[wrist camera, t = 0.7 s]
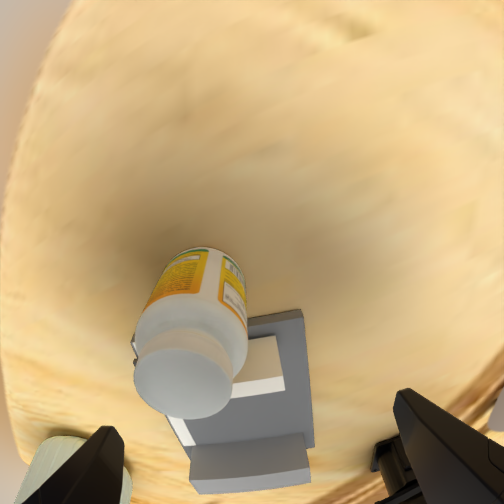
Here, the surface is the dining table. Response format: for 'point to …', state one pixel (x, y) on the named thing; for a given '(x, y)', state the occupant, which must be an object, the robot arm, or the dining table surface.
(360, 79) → the dining table surface
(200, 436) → the gauge base
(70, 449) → the vase
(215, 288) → the supplement bottle
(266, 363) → the gauge paddle
